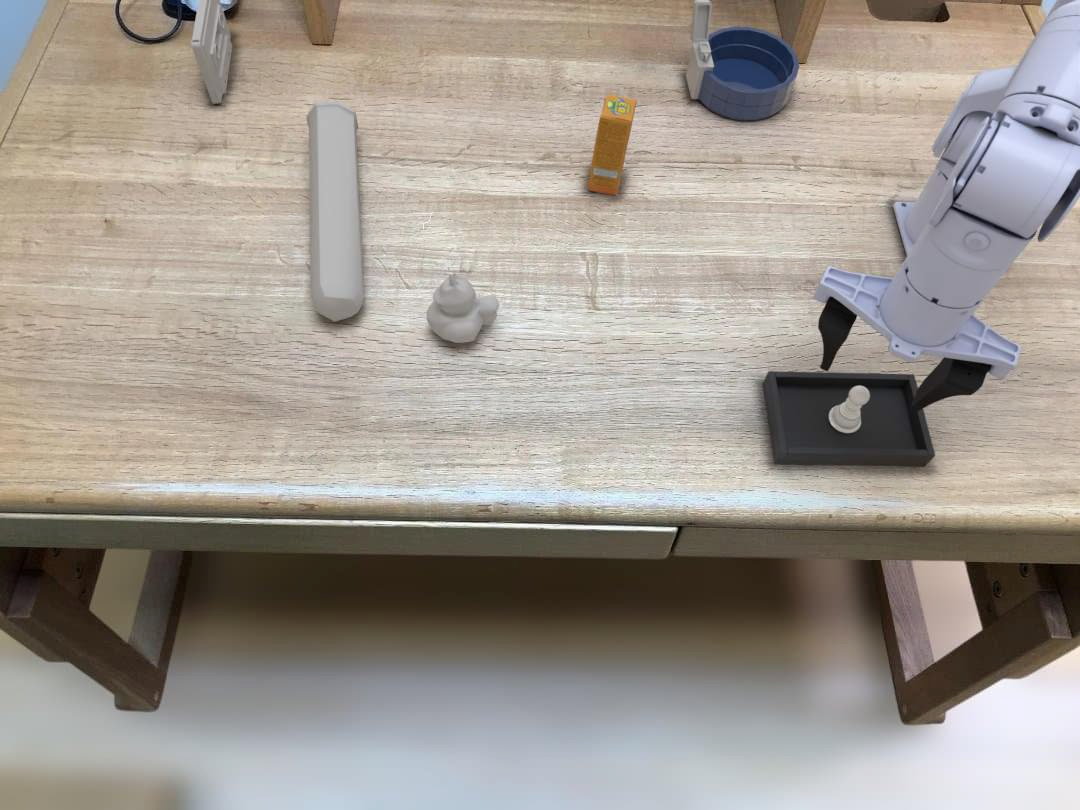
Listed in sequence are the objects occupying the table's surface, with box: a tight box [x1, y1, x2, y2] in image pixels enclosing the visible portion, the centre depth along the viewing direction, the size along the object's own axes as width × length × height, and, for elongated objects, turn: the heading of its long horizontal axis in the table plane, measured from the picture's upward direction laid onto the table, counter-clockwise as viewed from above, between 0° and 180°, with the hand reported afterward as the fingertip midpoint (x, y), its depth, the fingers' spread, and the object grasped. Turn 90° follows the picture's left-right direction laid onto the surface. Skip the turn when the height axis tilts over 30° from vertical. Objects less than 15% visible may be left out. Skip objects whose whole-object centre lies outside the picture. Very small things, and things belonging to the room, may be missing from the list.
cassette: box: [190, 0, 233, 105], centre depth 93 cm, size 12×2×8 cm, turn 5°
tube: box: [305, 100, 365, 323], centre depth 83 cm, size 5×5×25 cm
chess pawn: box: [829, 385, 870, 433], centre depth 73 cm, size 3×3×5 cm
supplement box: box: [587, 93, 638, 196], centre depth 85 cm, size 3×3×10 cm
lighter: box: [685, 0, 714, 100], centre depth 95 cm, size 7×2×8 cm, turn 4°
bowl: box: [698, 25, 800, 122], centre depth 96 cm, size 11×11×4 cm
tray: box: [762, 370, 936, 467], centre depth 75 cm, size 13×8×2 cm, turn 90°
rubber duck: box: [426, 272, 500, 344], centre depth 76 cm, size 5×7×8 cm
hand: (872, 380), depth 69 cm, fingers open, 7 cm apart
